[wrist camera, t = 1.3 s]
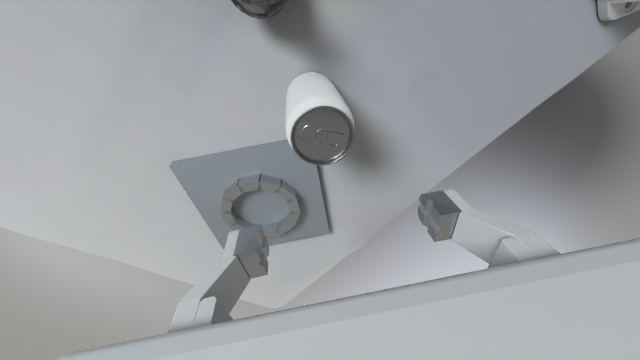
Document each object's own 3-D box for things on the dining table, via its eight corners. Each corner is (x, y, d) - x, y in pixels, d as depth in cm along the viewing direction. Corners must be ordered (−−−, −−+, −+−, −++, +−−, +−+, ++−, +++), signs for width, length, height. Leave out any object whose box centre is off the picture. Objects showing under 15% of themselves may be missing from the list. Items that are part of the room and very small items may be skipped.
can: (294, 63, 27) (297, 89, 17) (343, 81, 29) (372, 114, 19) (280, 114, 30) (277, 160, 21) (326, 127, 32) (342, 175, 22)
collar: (289, 168, 34) (289, 174, 32) (305, 223, 41) (305, 230, 39) (210, 183, 34) (206, 190, 32) (239, 235, 41) (237, 243, 39)
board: (310, 135, 32) (311, 138, 31) (328, 228, 44) (329, 233, 43) (172, 161, 32) (169, 166, 31) (227, 248, 44) (226, 253, 43)
